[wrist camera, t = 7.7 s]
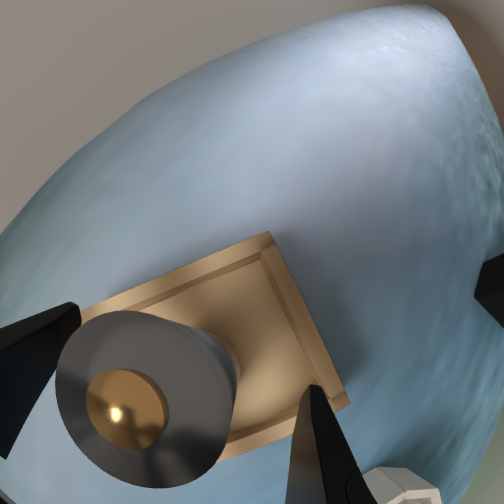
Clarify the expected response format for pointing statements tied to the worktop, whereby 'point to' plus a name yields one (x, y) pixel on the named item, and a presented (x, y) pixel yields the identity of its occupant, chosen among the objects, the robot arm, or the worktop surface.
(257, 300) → the wooden tray
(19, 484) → the worktop surface
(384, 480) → the cup
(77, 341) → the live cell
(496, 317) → the battery
